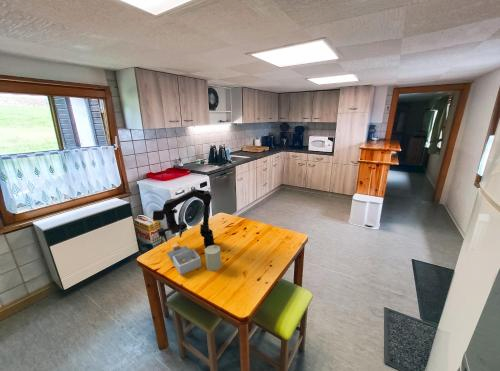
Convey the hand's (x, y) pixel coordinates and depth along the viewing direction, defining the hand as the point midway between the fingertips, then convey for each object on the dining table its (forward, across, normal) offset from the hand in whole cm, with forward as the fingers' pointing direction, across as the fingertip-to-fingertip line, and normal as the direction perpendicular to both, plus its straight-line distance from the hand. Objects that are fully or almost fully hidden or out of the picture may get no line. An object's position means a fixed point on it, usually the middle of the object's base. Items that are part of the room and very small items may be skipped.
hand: (173, 239), depth 148 cm
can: (+7, +13, -33) cm, 36 cm away
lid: (+7, 0, -6) cm, 10 cm away
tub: (+7, 0, -22) cm, 24 cm away
